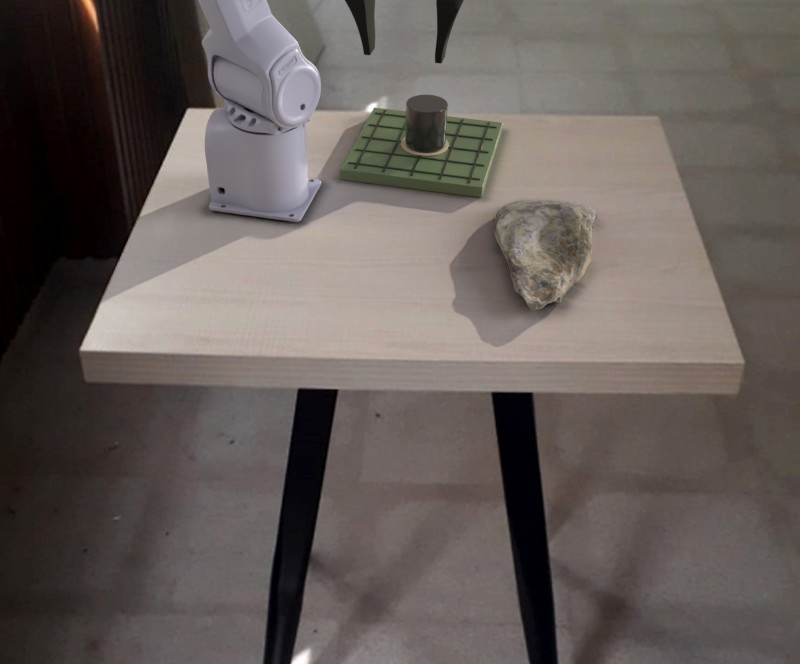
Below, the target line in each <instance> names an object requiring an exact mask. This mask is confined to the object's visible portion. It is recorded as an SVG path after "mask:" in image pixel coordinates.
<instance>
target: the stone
mask: <svg viewBox="0 0 800 664" xmlns="http://www.w3.org/2000/svg"><path fill="white" fill-rule="evenodd" d="M597 218H598V214H597V213H596V210H595V209H593V208H592V207H590V206H587V205H585V204H583V203H573V202H572V203H571V202H569V201H568V202H567V201H551V200H543V201H542V200H541V201H539V200H516V201H511V202H509V203H507V204H506V205H503V206H502V207H501V208H500V209H499V210H498V211H497V212H496V214H495V218H494V221H493V225H492V232H493V234H494V237H495V239H496V242H497V244H498V245H499V248H500V250H501V253H502V256H503V257H504V258H505V259H506V262H507V266H508V269H509V275H510V278H511V281H512V284H513V285H512V286H513V289H514V292H515V293H516V294H519V295H520V297H522V298H523V299H524V301H525V303H526V305H527V307H528V308H529V309H530V310H532V311H540V310H542V309H544V308H545V306H547V305H548V304H552V303H557V304H562V303H563V300H564V299H565V297H566V295H567V294H568V293H569V292H570V291H571V290H572V289H573V288H574V286H575V285H576V284H578V283H579V281H580V280H581V279H582V277H583V276H584V275H585V273H586V271H587V269H588V267H589V265H590V263H591V261H592V255H593V249H594V241H593V233H594V228H595V224H596V221H597Z"/></svg>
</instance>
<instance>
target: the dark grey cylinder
mask: <svg viewBox="0 0 800 664" xmlns="http://www.w3.org/2000/svg"><path fill="white" fill-rule="evenodd" d="M448 108H449V103H448V101H447V100H446V99H445V98H443V97H441V96H438V95H435V94H418V95H417V94H416V95H413V96H411V97H409V98H408V99H407V100H406V102H405V111H406V128H405V144H406V146H407V147H408V148H409V149H411V150H413V151H415V152H420V153H433V152H437V151H440V150H442V149H443V148H444V147H445V145H446V130H447V116H448Z"/></svg>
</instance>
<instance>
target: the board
mask: <svg viewBox="0 0 800 664" xmlns="http://www.w3.org/2000/svg"><path fill="white" fill-rule="evenodd" d="M503 125H504V123H503V122H500V121H492V120H482V119H475V118H465V117H457V116H449V115H447V130H446V145H445V147H444V148H443V149H442V150H440V151H437V152H433V153H420V152H415V151H413V150H411V149H409V148H408V147H407V146H406V144H405V128H406V110H399V109H390V108H381V107H373V109H372V110H371V112H370V113H369V115H368V118H367V119H366V121H365V123H364V125H363V127H362V129H361V131H360V133H359V134H358V136H357V138H356V139H355V141H354V143H353V145H352V147H351V149H350V151H348V154H347V156H346V158H345V160H344V161H343V163H342V165H341V167H340V169H339V178H340V179H339V180H343V181H351V182H357V183H365V184H373V185H380V186H389V187H396V188H405V189H412V190H420V191H428V192H434V193H442V194H451V195H458V196H464V197H466V196H467V197H471V198H472V197H474V198H483V195H484V191H485V188H486V185H487V182H488V178H489V175H490V172H491V169H492V166H493V162H494V160H495V156H496V153H497V151H498V150H497V149H498V146H499V143H500V140H501V137H502V133H503Z"/></svg>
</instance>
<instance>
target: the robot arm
mask: <svg viewBox="0 0 800 664" xmlns="http://www.w3.org/2000/svg"><path fill="white" fill-rule="evenodd" d="M464 1H465V0H435V2H436V3H435V5H436V40H435V41H436V42H435V48H434V49H435V50H434V51H435V52H434V64H443V62H444V60H445V58H446V52H447V47H448V43H449V39H450V37H451V36H450V35H451V33H452V29H453V27H454V24H455V21H456V18H457V16H458V14H459V12H460V9H461V7H462V5H463V3H464ZM197 2H198V4H199V6H200V9H201V10H202V13H203V15H204V17H205V19H206V22H207V24H208V27H209V29H208V31H207V32H206V33H205V35H204V37H203V38H202V40H201V46H202V48H203V50H204V52H205V55H206V60H207V77H208V81H209V85H210V86H211V88H212V90H213V91H214V93H215V94H216V95H217V96H219V97H220V98H222V99H223V107H224V108H216V109H214V110H212V112H211V114H210V116H209V118H208V120H207V123H206V126H205V132H204V133H205V134H204V155H205V162H206V171H207V177H208V186H209V193H210V202H209V204H208V209H209V210H210V211H212V212H220V213H226V214H227V213H228V214H235V215H241V216H250V217H256V218H262V219H263V218H264V219H271V220H277V221H284V222H293V223H298V222H301V221H302V219H303V218H304V216H305V214H306V213H307V211H308V209H309V207H310V205H311V203H312V202H313V200H314V198H315V197H316V195H317V193H318V191H319V189H320V187H321V186H322V181H321V179H319V178H312V177H309V169H308V168H309V167H308V149H307V130H306V129H307V127H306V123H309V122H310V120H311V119H310V118H311V117H312V115H313V114H314V112H315V111H316V109H317V106H318V105H319V101H320V98H321V94H322V93H321V92H322V81H321V80H322V79H321V75H320V72H319V70H318V69H317V67H316V65H314V64H313V62H311V61H310V60H308V59H307V58H306V56H305V55H304V54H303V51H302V50H301V47H300V45H299V42H298V41H297V40H296V39H295V37H294V36H293V35H292V34H291V33H290V32H289V31H288V30H287V29H286V28H285V26H283V25H282V24H281V23H280V22H279V21H278V19H276V17H275V16H274V15H273V13H272V10H271V7H270V5H269V3H268V1H267V0H197ZM344 2H345V3H346V6H347V7H348V9H349V11H350V12H351V15H352V17H353V20H354V22H355V25H356V27H357V30H358V34H359V37H360V42H361V47H362V51H363V55H364V56H371V55H372V53H373V52H374V50H375V48H376V21H375V19H376V18H375V9H376V0H344Z"/></svg>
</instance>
